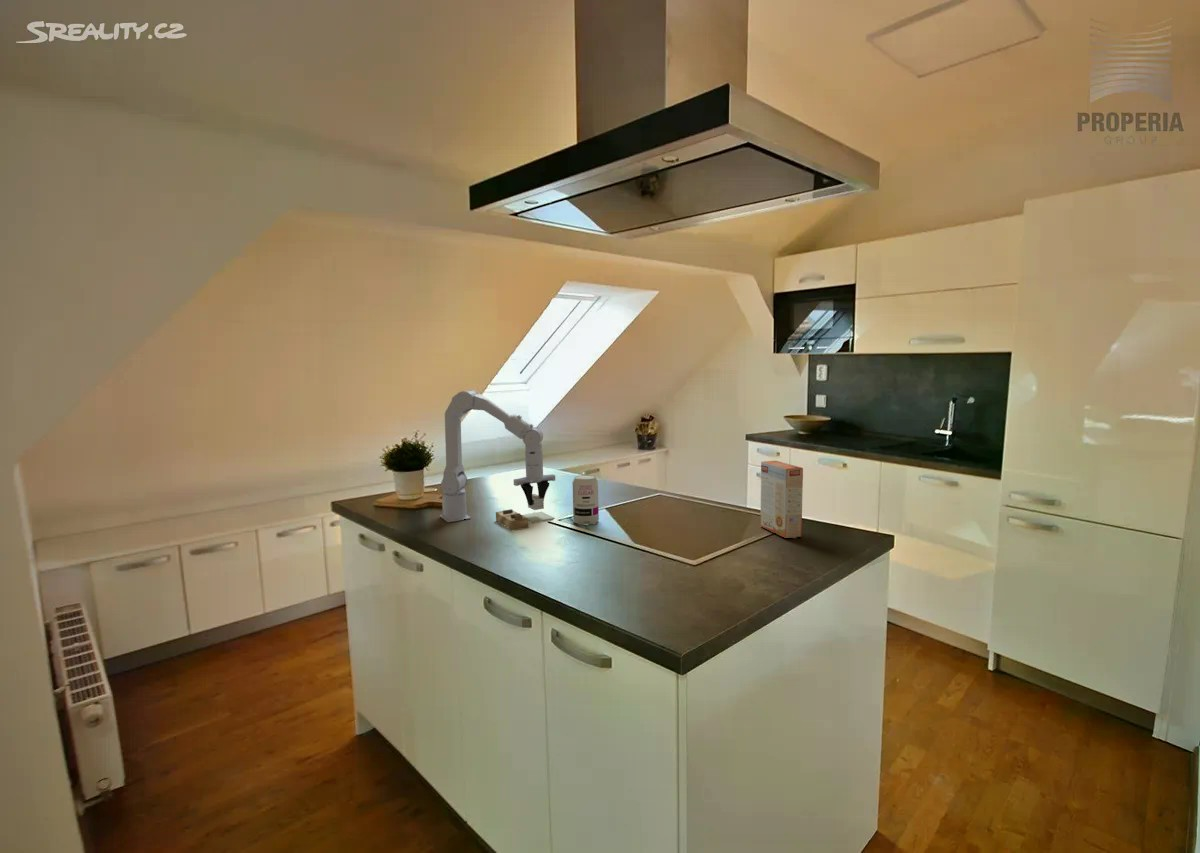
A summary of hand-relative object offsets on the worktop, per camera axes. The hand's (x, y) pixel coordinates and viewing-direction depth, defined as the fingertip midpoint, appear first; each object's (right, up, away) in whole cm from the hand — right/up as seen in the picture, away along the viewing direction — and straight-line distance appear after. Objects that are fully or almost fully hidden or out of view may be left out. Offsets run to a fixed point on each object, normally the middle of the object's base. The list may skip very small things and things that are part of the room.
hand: (535, 504), depth 194 cm
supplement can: (+17, -5, -5) cm, 19 cm away
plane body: (-7, -6, -6) cm, 11 cm away
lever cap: (0, -1, 0) cm, 1 cm away
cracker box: (+76, -6, -21) cm, 79 cm away
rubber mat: (0, -5, +1) cm, 5 cm away
